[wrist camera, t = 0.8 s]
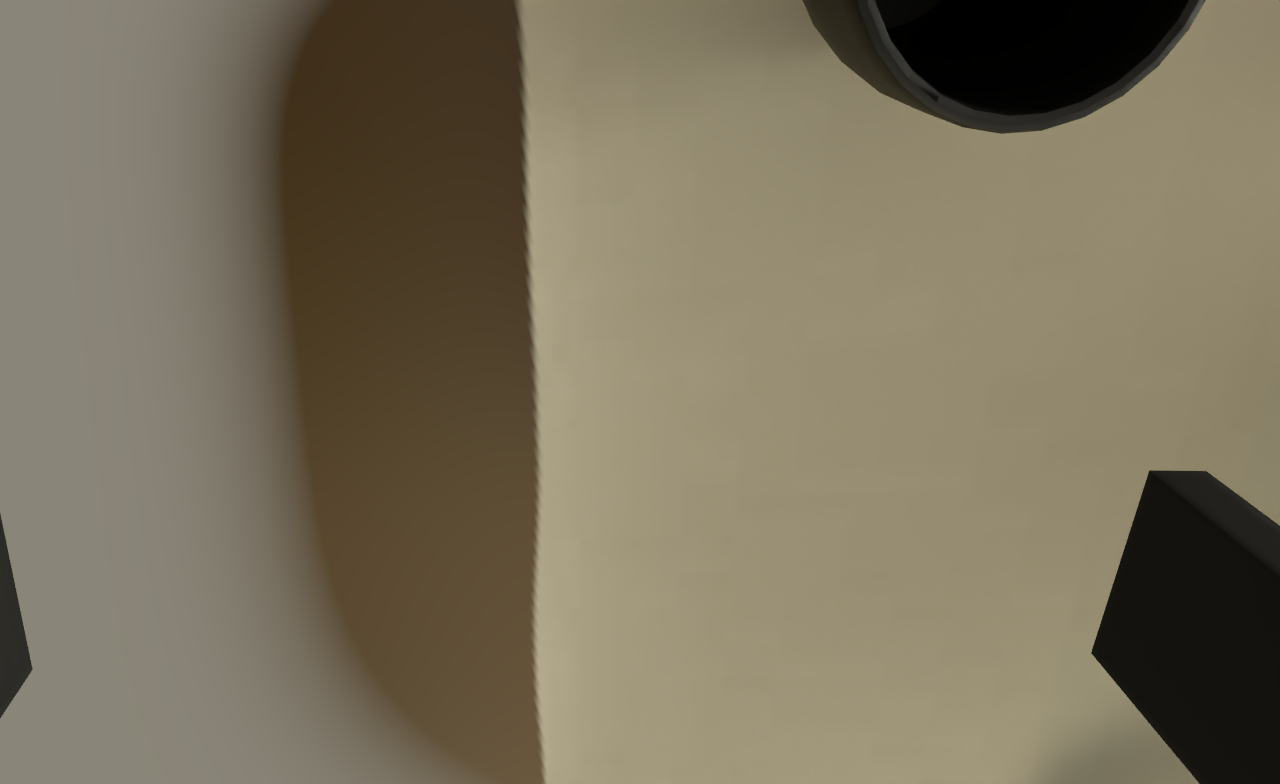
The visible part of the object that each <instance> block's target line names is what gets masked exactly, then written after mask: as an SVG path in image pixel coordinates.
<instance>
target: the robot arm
mask: <svg viewBox="0 0 1280 784" xmlns="http://www.w3.org/2000/svg"><path fill="white" fill-rule="evenodd" d="M1091 653H1092V655H1093V656H1094V657H1095V658H1096V659H1097V661H1098V662H1099V663H1100V664H1101V665H1102V667H1103V668H1104V669H1105V670H1106V671H1107V673H1108V674H1109V675H1110V676H1111V677H1112V679H1113V680H1114V681H1115V682H1116V683H1117V685H1118V686H1119V687H1120V688H1121V690H1122V691H1123V692H1124V693H1125V694H1126V696H1127V697H1128V698H1129V699H1130V700H1131V702H1132V703H1133V704H1134V705H1135V706H1136V708H1137V709H1138V710H1139V711H1140V712H1141V714H1142V715H1143V716H1144V717H1145V718H1146V720H1147V721H1148V722H1149V723H1150V724H1151V726H1152V727H1153V728H1154V729H1155V730H1156V732H1157V733H1158V734H1159V735H1160V736H1161V738H1162V739H1163V740H1164V741H1165V743H1166V744H1167V745H1168V746H1169V747H1170V749H1171V750H1172V751H1173V752H1174V753H1175V755H1176V756H1177V757H1178V758H1179V759H1180V761H1181V762H1182V763H1183V764H1184V765H1185V767H1186V768H1187V769H1188V770H1189V771H1190V773H1191V774H1192V775H1193V776H1194V777H1195V779H1196V780H1197V781H1198V782H1199V783H1200V784H1280V526H1279V525H1278V524H1276V523H1275V522H1274V521H1272V520H1271V519H1270V518H1268V517H1267V516H1266V515H1264V514H1263V513H1262V512H1260V511H1259V510H1258V509H1256V508H1255V507H1254V506H1252V505H1251V504H1250V503H1248V502H1247V501H1246V500H1244V499H1243V498H1242V497H1240V496H1239V495H1238V494H1236V493H1235V492H1234V491H1232V490H1231V489H1229V488H1228V487H1227V486H1225V485H1224V484H1223V483H1221V482H1220V481H1219V480H1217V479H1216V478H1215V477H1213V476H1212V475H1211V474H1209V473H1208V472H1207V471H1149V474H1148V477H1147V480H1146V483H1145V486H1144V489H1143V492H1142V496H1141V499H1140V502H1139V505H1138V508H1137V511H1136V514H1135V517H1134V521H1133V524H1132V527H1131V530H1130V533H1129V536H1128V539H1127V542H1126V546H1125V549H1124V552H1123V555H1122V558H1121V561H1120V564H1119V568H1118V571H1117V574H1116V577H1115V580H1114V583H1113V586H1112V589H1111V593H1110V596H1109V599H1108V602H1107V605H1106V608H1105V611H1104V615H1103V618H1102V621H1101V624H1100V627H1099V630H1098V633H1097V636H1096V640H1095V643H1094V646H1093V649H1092V652H1091ZM31 671H32V665H31V660H30V655H29V651H28V646H27V641H26V636H25V631H24V626H23V622H22V617H21V612H20V607H19V602H18V598H17V593H16V588H15V583H14V578H13V573H12V568H11V564H10V560H9V554H8V549H7V545H6V539H5V535H4V530H3V525H2V520H1V515H0V718H1V716H2V715H3V713H4V712H5V710H6V709H7V707H8V706H9V704H10V703H11V701H12V700H13V698H14V697H15V695H16V694H17V692H18V691H19V689H20V688H21V686H22V685H23V683H24V682H25V680H26V679H27V677H28V675H29V674H30V672H31Z"/></svg>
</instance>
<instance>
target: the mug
mask: <svg viewBox="0 0 1280 784" xmlns="http://www.w3.org/2000/svg"><path fill="white" fill-rule="evenodd" d="M803 2H804V4H805V7H806V9H807V11H808V13H809V16H810V18H811V20H812V22H813V25H814V26H815V28H816V29H817V30H818V32H819V33H820V34H821V36H822V37H823V38H824V40H825V41H826V42H827V44H828V45H829V46H830V48H831V49H832V50H833V52H834V53H835V54H836V55H837V57H838V58H839V59H840V60H841V61H842V62H843V63H844V64H845V65H847V66H848V67H849V68H850V69H851V70H853V71H854V72H855V73H856V74H858V75H859V76H860V77H861V78H863V79H864V80H865V81H866V82H868V83H869V84H870V85H871V86H872V87H874V88H875V89H876V90H877V91H879V92H880V93H882V94H884V95H886V96H889V97H891V98H893V99H895V100H898V101H900V102H902V103H904V104H906V105H909V106H911V107H913V108H915V109H918V110H920V111H922V112H925V113H927V114H930V115H932V116H935V117H938V118H940V119H943V120H945V121H948V122H951V123H953V124H956V125H959V126H961V127H965V128H971V129H977V130H983V131H989V132H995V133H1001V134H1003V133H1016V132H1029V131H1042V130H1045V129H1048V128H1051V127H1054V126H1058V125H1061V124H1064V123H1067V122H1070V121H1074V120H1077V119H1080V118H1083V117H1085V116H1087V115H1089V114H1091V113H1093V112H1094V111H1096V110H1098V109H1100V108H1102V107H1103V106H1105V105H1107V104H1109V103H1111V102H1112V101H1114V100H1116V99H1118V98H1120V97H1121V96H1123V95H1124V94H1126V93H1127V92H1128V91H1129V90H1130V89H1131V88H1133V87H1134V86H1135V85H1136V84H1137V83H1139V82H1140V81H1141V80H1142V79H1143V78H1145V77H1146V76H1147V75H1148V74H1149V73H1151V72H1152V71H1153V70H1154V69H1155V68H1157V67H1158V66H1159V65H1160V63H1161V62H1162V61H1163V60H1164V59H1165V57H1166V56H1167V55H1168V54H1169V53H1170V51H1171V50H1172V49H1173V48H1174V47H1175V45H1176V44H1177V43H1178V42H1179V41H1180V39H1181V38H1182V37H1183V36H1184V35H1185V33H1186V32H1187V31H1188V30H1189V28H1190V26H1191V25H1192V23H1193V21H1194V19H1195V18H1196V16H1197V14H1198V13H1199V11H1200V9H1201V7H1202V6H1203V4H1204V2H1205V0H803Z"/></svg>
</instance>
